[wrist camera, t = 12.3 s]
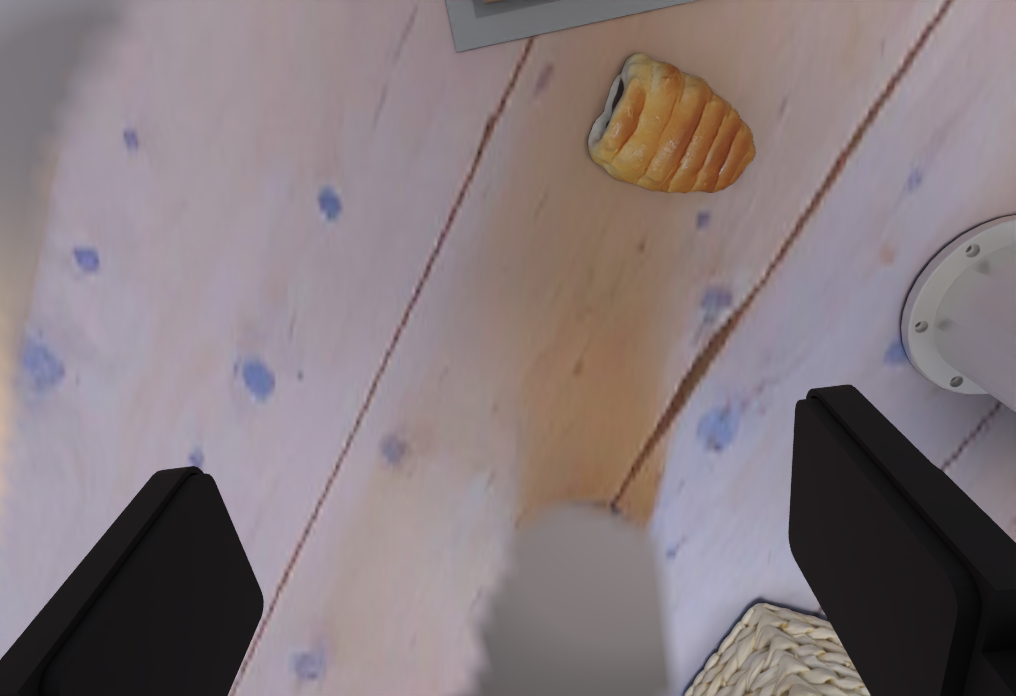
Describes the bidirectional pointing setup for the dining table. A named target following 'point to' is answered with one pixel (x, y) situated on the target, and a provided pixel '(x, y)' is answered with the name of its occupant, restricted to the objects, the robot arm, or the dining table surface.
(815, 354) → the dining table surface
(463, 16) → the slate mat
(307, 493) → the dining table surface
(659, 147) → the pastry
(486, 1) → the plinth
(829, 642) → the storage basket
